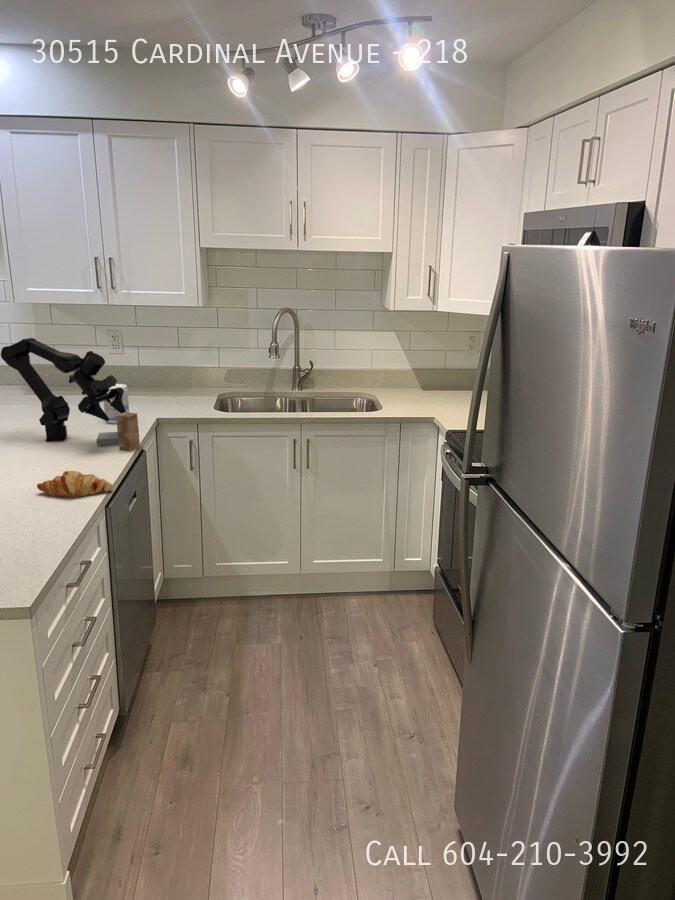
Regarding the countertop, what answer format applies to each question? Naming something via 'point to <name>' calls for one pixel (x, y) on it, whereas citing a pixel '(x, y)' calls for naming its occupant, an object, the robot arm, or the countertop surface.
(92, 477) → the croissant
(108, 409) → the supplement tub
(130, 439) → the walnut pillar
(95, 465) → the countertop surface
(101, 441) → the light grey plinth
